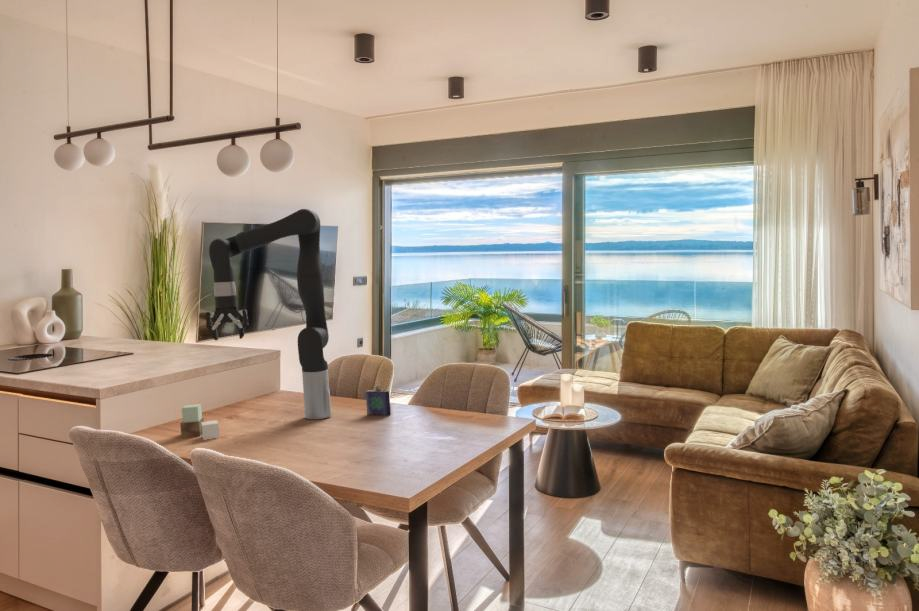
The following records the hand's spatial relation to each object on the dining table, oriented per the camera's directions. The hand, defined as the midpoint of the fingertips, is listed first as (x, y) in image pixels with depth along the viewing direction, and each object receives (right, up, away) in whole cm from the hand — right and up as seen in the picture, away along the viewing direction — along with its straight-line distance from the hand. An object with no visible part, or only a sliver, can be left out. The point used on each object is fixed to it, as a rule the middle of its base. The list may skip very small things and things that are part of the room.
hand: (228, 339), depth 238 cm
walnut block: (-7, -32, -14) cm, 36 cm away
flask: (+54, -28, +1) cm, 61 cm away
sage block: (-7, -27, -15) cm, 31 cm away
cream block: (+1, -32, -19) cm, 37 cm away
